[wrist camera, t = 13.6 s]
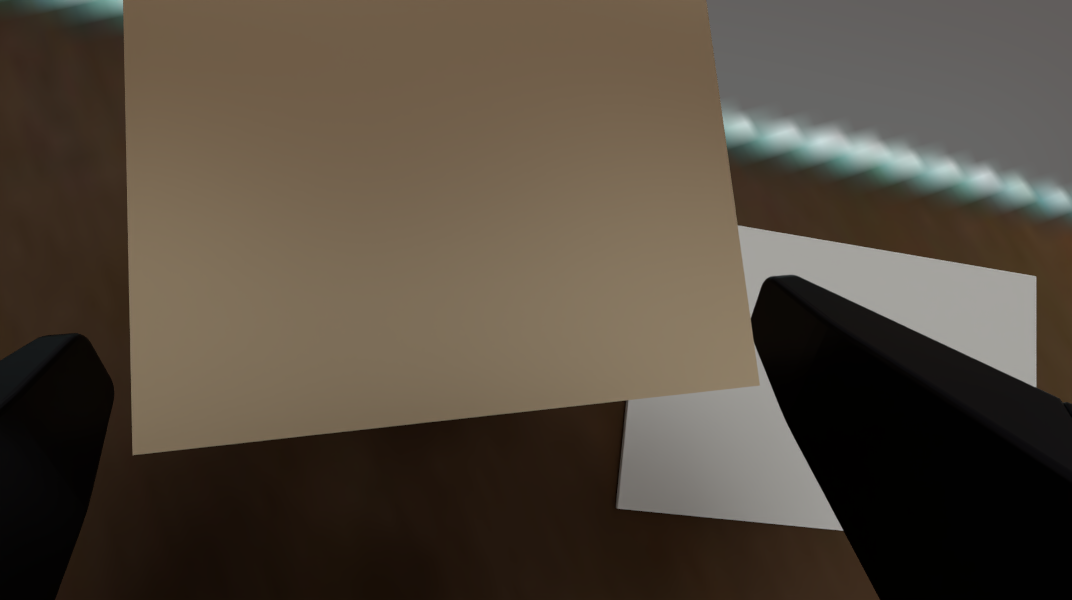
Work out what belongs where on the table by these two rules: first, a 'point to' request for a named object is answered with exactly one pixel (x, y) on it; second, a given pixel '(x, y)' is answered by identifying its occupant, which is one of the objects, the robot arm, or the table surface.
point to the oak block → (422, 213)
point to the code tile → (753, 412)
